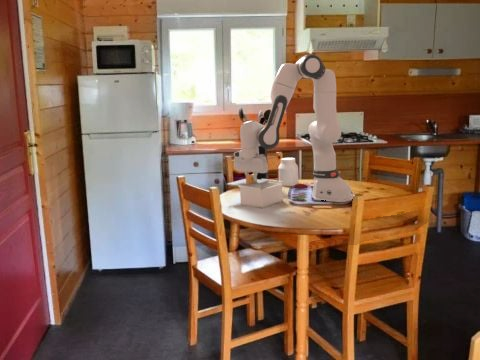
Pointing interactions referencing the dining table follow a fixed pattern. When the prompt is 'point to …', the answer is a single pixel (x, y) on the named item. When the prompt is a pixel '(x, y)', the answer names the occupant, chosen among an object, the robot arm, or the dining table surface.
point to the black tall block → (265, 175)
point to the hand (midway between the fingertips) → (251, 180)
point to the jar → (288, 172)
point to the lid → (247, 181)
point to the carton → (262, 194)
